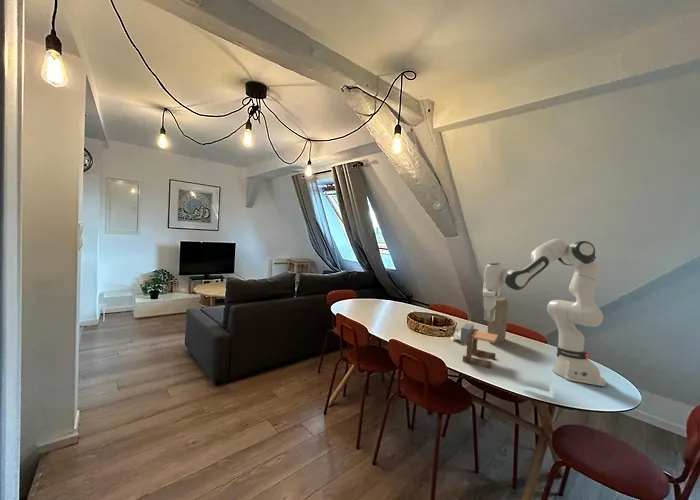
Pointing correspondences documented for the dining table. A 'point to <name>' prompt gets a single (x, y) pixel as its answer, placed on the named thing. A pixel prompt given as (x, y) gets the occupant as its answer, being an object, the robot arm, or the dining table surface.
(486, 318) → the stone
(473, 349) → the frame
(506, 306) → the stone tablet
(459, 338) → the lotus flower
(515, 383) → the dining table surface
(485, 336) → the hammer
